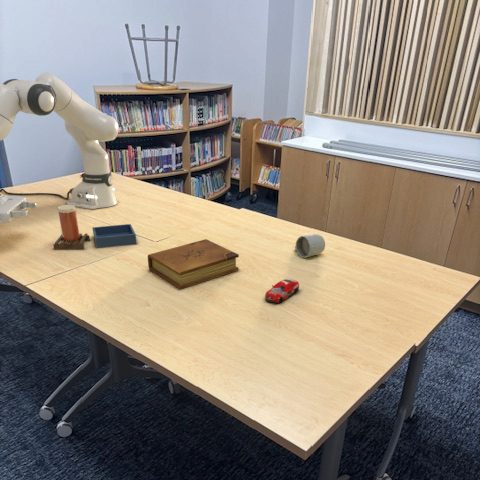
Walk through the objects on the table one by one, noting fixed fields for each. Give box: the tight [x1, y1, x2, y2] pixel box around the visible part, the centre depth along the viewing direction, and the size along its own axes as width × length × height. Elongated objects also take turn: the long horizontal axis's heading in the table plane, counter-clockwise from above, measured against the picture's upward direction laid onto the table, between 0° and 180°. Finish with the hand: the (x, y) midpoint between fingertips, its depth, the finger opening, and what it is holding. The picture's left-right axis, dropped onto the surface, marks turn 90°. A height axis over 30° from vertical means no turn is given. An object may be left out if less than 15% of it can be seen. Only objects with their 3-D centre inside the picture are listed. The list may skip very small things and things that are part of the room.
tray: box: [92, 223, 138, 249], centre depth 179 cm, size 14×12×4 cm
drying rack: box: [52, 233, 91, 250], centre depth 175 cm, size 10×10×2 cm
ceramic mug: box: [294, 233, 326, 259], centre depth 170 cm, size 11×8×8 cm
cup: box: [57, 204, 80, 242], centre depth 172 cm, size 6×6×12 cm
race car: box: [264, 278, 300, 304], centre depth 141 cm, size 13×5×4 cm, turn 140°
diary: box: [147, 238, 240, 290], centre depth 156 cm, size 23×19×6 cm
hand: (31, 209), depth 168 cm, fingers open, 8 cm apart
